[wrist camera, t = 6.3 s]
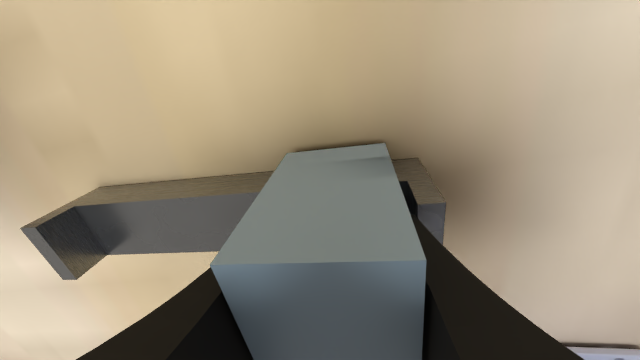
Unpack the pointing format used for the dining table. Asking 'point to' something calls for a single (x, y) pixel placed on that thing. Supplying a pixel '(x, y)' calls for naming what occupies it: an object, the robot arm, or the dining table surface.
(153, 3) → the dining table surface
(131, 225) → the rail
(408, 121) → the dining table surface
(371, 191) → the block
